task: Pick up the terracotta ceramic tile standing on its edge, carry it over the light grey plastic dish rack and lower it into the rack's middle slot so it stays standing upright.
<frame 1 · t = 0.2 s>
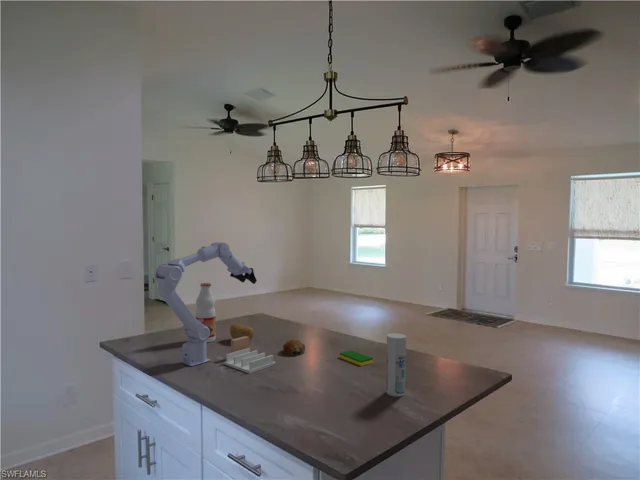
hand: (249, 281, 202), 31 cm above the worktop, tool tilted 45°, fingers open, 7 cm apart
dish sponge: (356, 361, 187), on the worktop
bread roll: (293, 353, 196), on the worktop
potato: (242, 341, 213), on the worktop
fruit juice: (205, 340, 214), on the worktop
dish rack: (249, 364, 179), on the worktop
tile: (240, 356, 189), on the worktop
spray can: (395, 393, 151), on the worktop
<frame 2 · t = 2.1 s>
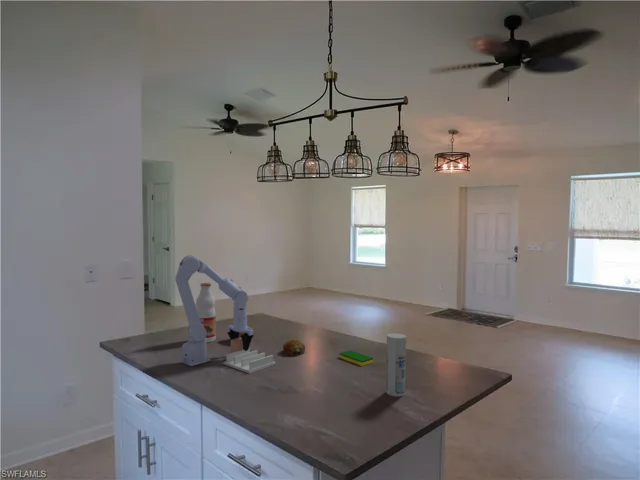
hand: (240, 349, 189), 3 cm above the worktop, tool pointing down, fingers open, 7 cm apart
nothing on the worktop moved.
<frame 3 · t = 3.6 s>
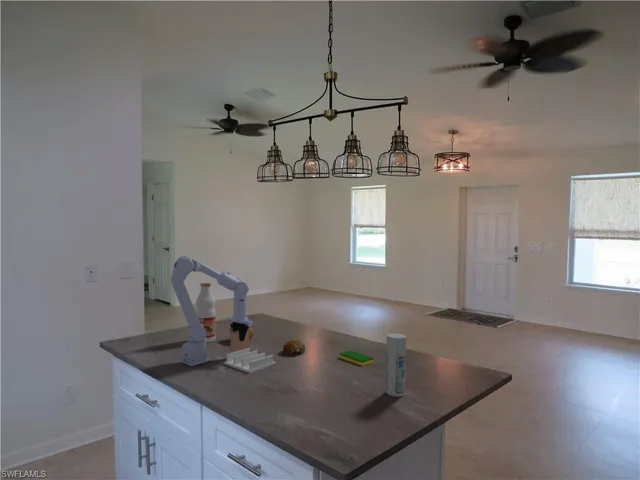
hand: (239, 340, 189), 7 cm above the worktop, tool pointing down, fingers closed on tile, 2 cm apart
tile: (239, 349, 189), point 3 cm above the worktop, touching gripper
everything else where it was.
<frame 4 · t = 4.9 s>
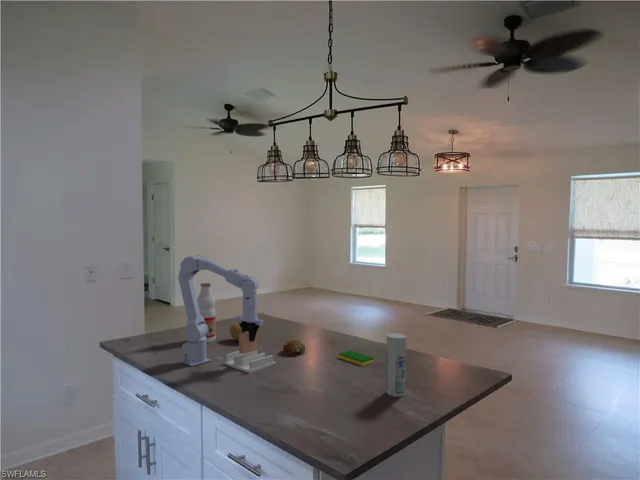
hand: (249, 340, 179), 10 cm above the worktop, tool pointing down, fingers closed on tile, 2 cm apart
tile: (248, 351, 179), point 5 cm above the worktop, touching gripper
everything else where it was.
when the fingers open (6 cm above the worktop, at t = 6.1 s): tile stays where it is, resting on dish rack.
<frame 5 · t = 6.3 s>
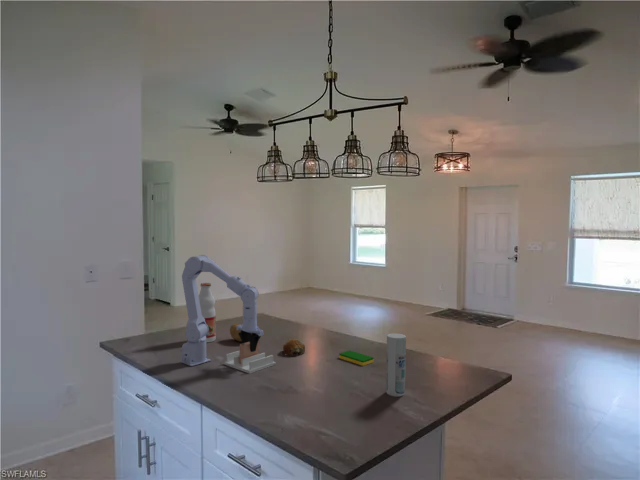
hand: (249, 350, 179), 6 cm above the worktop, tool pointing down, fingers open, 4 cm apart
tile: (249, 362, 179), point 1 cm above the worktop, touching dish rack
everything else where it was.
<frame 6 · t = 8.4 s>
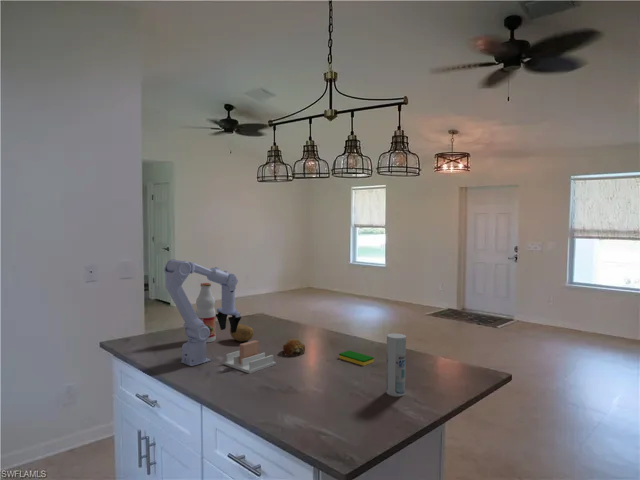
hand: (228, 330, 194), 10 cm above the worktop, tool pointing down, fingers open, 7 cm apart
nothing on the worktop moved.
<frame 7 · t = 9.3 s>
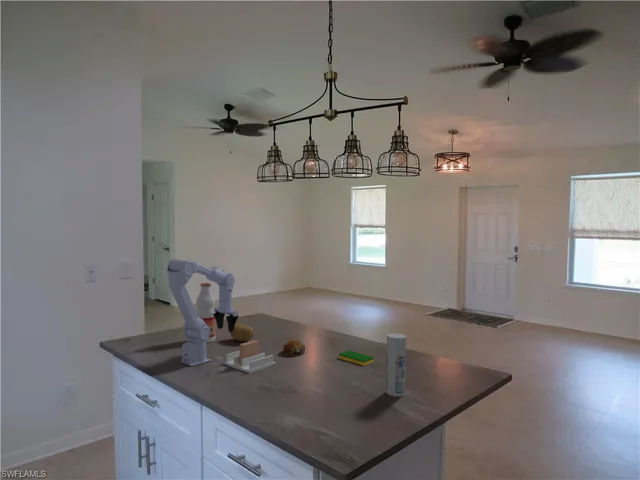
hand: (225, 329, 195), 10 cm above the worktop, tool pointing down, fingers open, 7 cm apart
nothing on the worktop moved.
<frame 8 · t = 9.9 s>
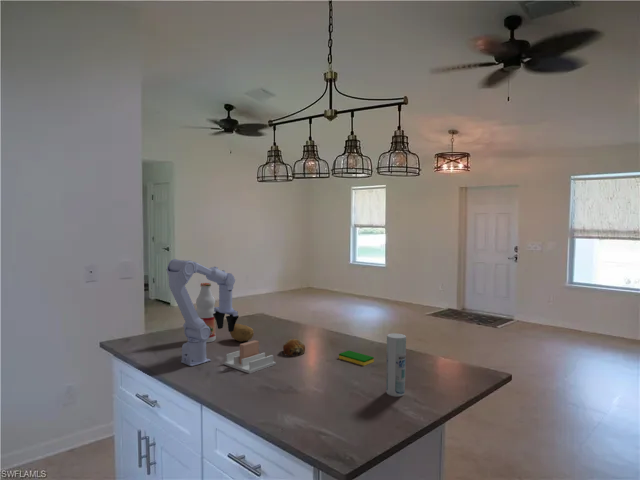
hand: (225, 329, 195), 10 cm above the worktop, tool pointing down, fingers open, 7 cm apart
nothing on the worktop moved.
at the end: tile 0.2 cm off-centre on the dish rack, point 1.0 cm above the dish rack's base; tile tilted 0°; the gripper is holding nothing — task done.
